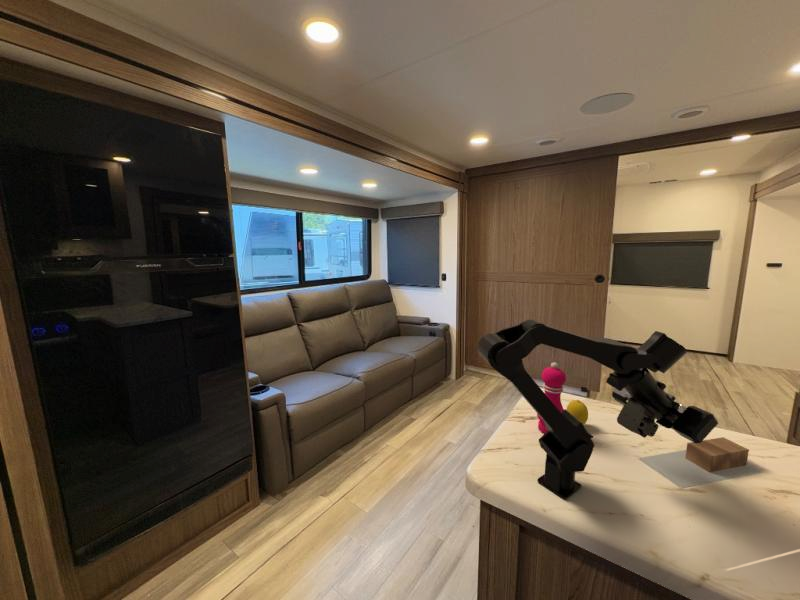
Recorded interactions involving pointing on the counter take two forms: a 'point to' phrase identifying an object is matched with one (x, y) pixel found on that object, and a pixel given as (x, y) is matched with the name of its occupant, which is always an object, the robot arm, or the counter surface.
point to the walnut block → (716, 454)
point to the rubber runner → (691, 470)
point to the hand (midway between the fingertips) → (676, 428)
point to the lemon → (578, 410)
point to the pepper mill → (552, 389)
